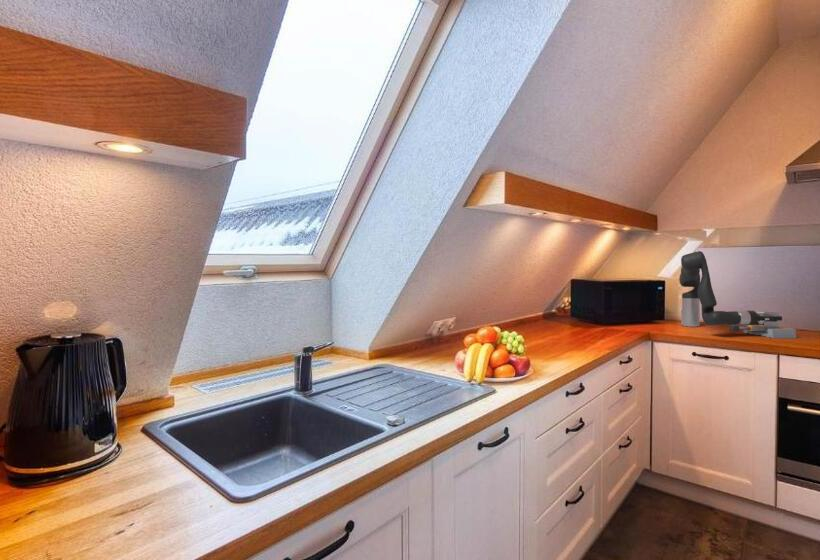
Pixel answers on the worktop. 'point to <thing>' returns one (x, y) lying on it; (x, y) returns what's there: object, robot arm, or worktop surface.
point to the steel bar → (771, 324)
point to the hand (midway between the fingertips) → (774, 317)
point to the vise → (775, 333)
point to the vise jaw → (747, 328)
